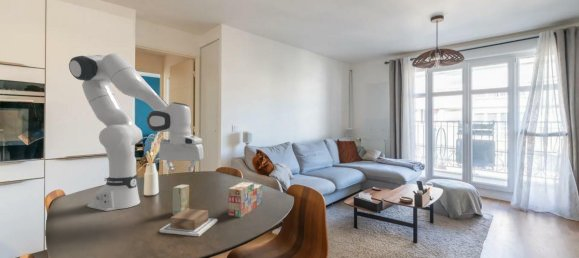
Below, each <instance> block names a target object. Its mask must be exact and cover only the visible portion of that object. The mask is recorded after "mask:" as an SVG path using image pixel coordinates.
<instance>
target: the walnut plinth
mask: <svg viewBox="0 0 579 258" xmlns="http://www.w3.org/2000/svg"><path fill="white" fill-rule="evenodd" d="M208 218H209V210H207V209H197V208H196V209H193V208H189V209H184V210H183V211H181V212H179V213H177V214H176V215H172V216H170V218H169V220H170V221H169V222H170V223H169V224H170V228H175V229H185V230H194V231H195V230H196V229H197V228H199V227H200V226H201V225H203V224H204V223H205V222H207V221H208Z"/></svg>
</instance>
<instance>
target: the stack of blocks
mask: <svg viewBox="0 0 579 258" xmlns="http://www.w3.org/2000/svg"><path fill="white" fill-rule="evenodd" d="M227 197H228V216H229V217H236V218H241V217H243V216H245V215H246V214H248V213H249V212H251V211H252V210H254V209H255V208H257V207H258V206H260V205H261V204H263V184H256V183H254V182H248V181H247V182H245V181H242V182H240V183H237V184H236V185H233V186H231V187H229V188H228V196H227ZM260 203H261V204H260ZM253 208H254V209H253Z"/></svg>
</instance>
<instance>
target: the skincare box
mask: <svg viewBox="0 0 579 258" xmlns="http://www.w3.org/2000/svg"><path fill="white" fill-rule="evenodd" d="M184 209H190V185H189V184H179V185H176V186H173V187H172V216H174V215H176V214H177V213H179V212H181V211H183V210H184Z"/></svg>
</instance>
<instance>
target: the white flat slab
mask: <svg viewBox="0 0 579 258" xmlns="http://www.w3.org/2000/svg"><path fill="white" fill-rule="evenodd" d="M216 223H218V219H217V218H210V217H208V221H207V222H205V223H204V224H203V225H201V226H200V227H199V228H197V229H196V230H195V231H194V230H185V229H175V228H170V223H168V224H166V225H165V226H163V227H162V228H160V229H159V233H165V234H175V235H183V236H192V237H201V236H202V235H203V234H204V233H205V232H206V231H207V230H209V229H210V228H211V227H212V226H214V225H215V224H216Z"/></svg>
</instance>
